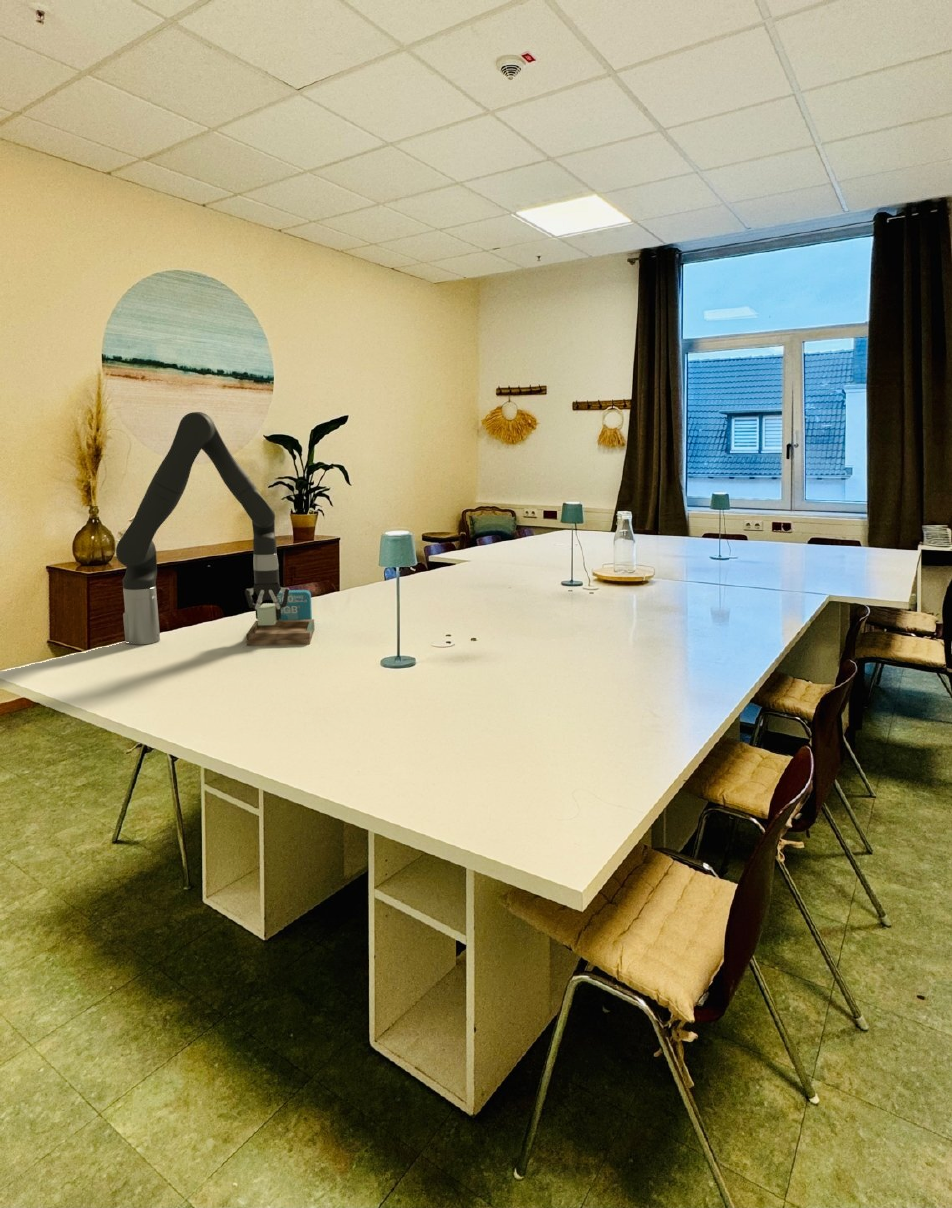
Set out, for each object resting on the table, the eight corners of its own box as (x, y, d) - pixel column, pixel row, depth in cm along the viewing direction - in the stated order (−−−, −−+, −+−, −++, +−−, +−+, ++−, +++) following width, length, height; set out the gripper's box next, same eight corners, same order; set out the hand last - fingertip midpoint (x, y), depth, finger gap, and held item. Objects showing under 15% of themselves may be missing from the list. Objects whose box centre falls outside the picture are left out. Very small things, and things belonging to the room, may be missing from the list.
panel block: (257, 625, 227) (257, 609, 226) (263, 618, 237) (263, 603, 236) (274, 625, 228) (273, 609, 227) (279, 618, 238) (278, 603, 237)
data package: (275, 627, 248) (273, 592, 246) (276, 624, 252) (275, 590, 250) (310, 626, 250) (309, 592, 247) (312, 623, 254) (310, 589, 252)
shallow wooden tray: (246, 645, 223) (246, 634, 222) (256, 630, 242) (255, 620, 242) (309, 644, 226) (309, 633, 225) (314, 629, 245) (314, 619, 245)
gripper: (240, 570, 224) (243, 623, 228) (288, 569, 226) (290, 622, 230) (244, 566, 232) (247, 618, 235) (290, 565, 234) (293, 617, 237)
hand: (269, 620), depth 232 cm, fingers closed on panel block, 5 cm apart
